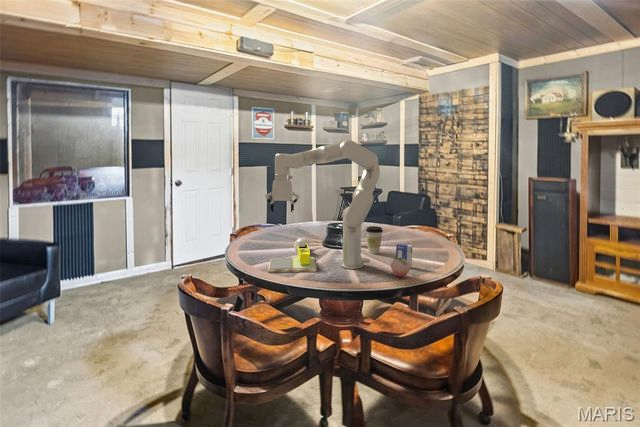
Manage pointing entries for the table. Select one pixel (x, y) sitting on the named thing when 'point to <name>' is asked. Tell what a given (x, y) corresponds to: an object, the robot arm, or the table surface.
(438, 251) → the table surface
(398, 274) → the decorative fruit
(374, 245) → the coffee cup
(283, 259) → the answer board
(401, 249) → the blue and white carton
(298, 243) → the white ovoid
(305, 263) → the yellow toy chassis
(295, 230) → the table surface
